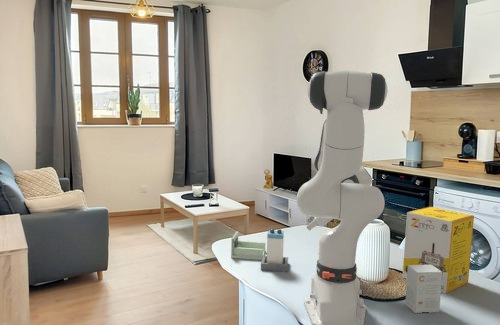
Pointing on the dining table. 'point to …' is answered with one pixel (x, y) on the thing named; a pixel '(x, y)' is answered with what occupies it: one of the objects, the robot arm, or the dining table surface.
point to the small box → (423, 288)
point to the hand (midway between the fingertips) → (307, 225)
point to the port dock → (247, 249)
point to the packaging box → (440, 244)
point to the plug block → (275, 246)
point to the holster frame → (274, 265)
